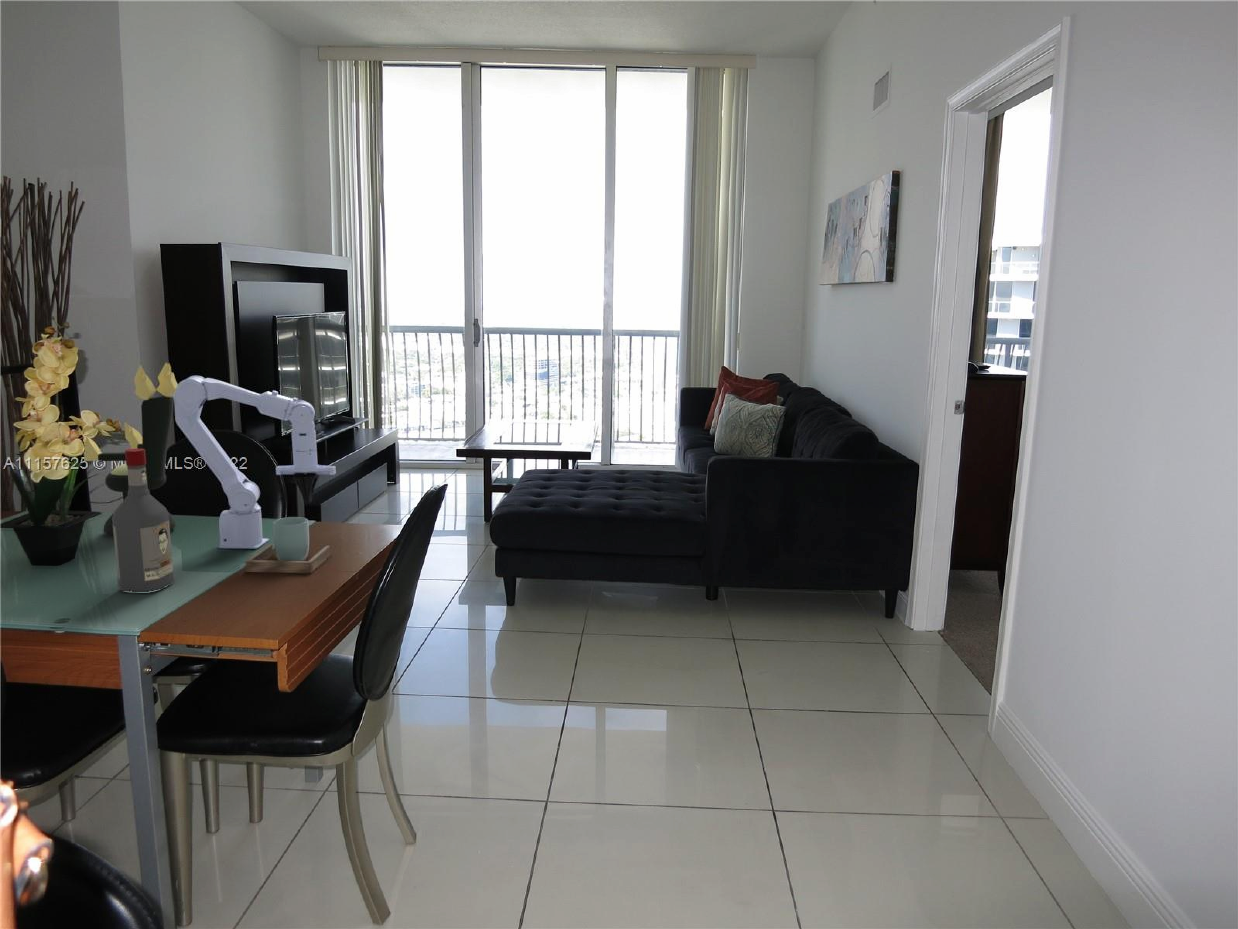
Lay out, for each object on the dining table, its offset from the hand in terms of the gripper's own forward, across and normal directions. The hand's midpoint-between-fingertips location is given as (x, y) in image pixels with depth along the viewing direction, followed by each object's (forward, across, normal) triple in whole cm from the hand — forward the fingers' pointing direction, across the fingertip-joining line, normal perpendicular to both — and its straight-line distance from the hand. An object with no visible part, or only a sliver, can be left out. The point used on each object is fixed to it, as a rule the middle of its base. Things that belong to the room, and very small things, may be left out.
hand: (308, 502), depth 222 cm
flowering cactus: (+10, +44, -6) cm, 46 cm away
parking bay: (+10, -2, +18) cm, 21 cm away
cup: (+11, -2, +17) cm, 20 cm away
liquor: (+10, +22, +37) cm, 45 cm away
